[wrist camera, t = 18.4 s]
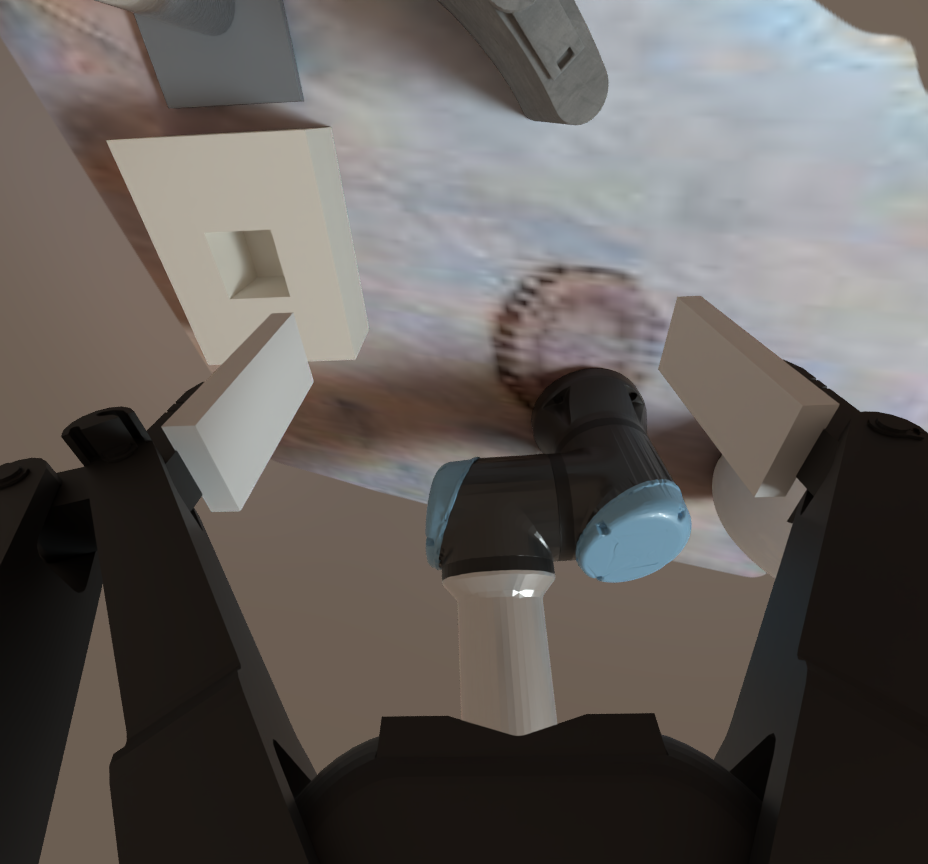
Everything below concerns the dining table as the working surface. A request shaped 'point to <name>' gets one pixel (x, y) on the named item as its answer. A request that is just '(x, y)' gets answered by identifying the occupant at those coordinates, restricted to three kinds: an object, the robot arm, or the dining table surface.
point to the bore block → (251, 234)
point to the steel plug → (184, 13)
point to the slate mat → (226, 59)
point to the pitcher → (754, 516)
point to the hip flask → (540, 55)
